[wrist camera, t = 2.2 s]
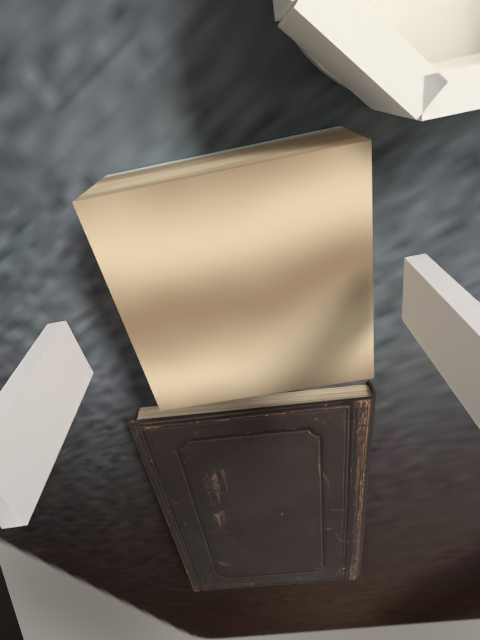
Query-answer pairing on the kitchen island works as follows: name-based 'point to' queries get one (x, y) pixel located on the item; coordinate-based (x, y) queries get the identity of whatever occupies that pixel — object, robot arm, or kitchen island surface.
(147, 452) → the hardcover book
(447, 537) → the kitchen island surface
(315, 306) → the tan box
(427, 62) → the bowl
